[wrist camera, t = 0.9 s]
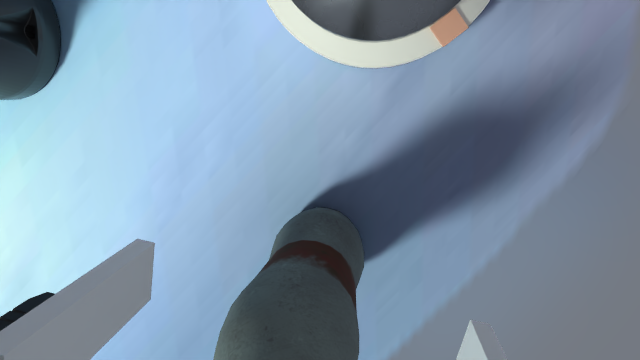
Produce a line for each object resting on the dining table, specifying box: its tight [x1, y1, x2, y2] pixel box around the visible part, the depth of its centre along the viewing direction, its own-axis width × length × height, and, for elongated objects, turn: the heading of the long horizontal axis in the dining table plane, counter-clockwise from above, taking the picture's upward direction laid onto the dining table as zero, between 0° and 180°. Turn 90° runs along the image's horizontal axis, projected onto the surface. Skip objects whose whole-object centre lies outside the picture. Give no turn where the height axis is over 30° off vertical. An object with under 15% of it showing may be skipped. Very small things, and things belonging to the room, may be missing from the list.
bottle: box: [213, 208, 364, 360], centre depth 27 cm, size 9×9×30 cm
